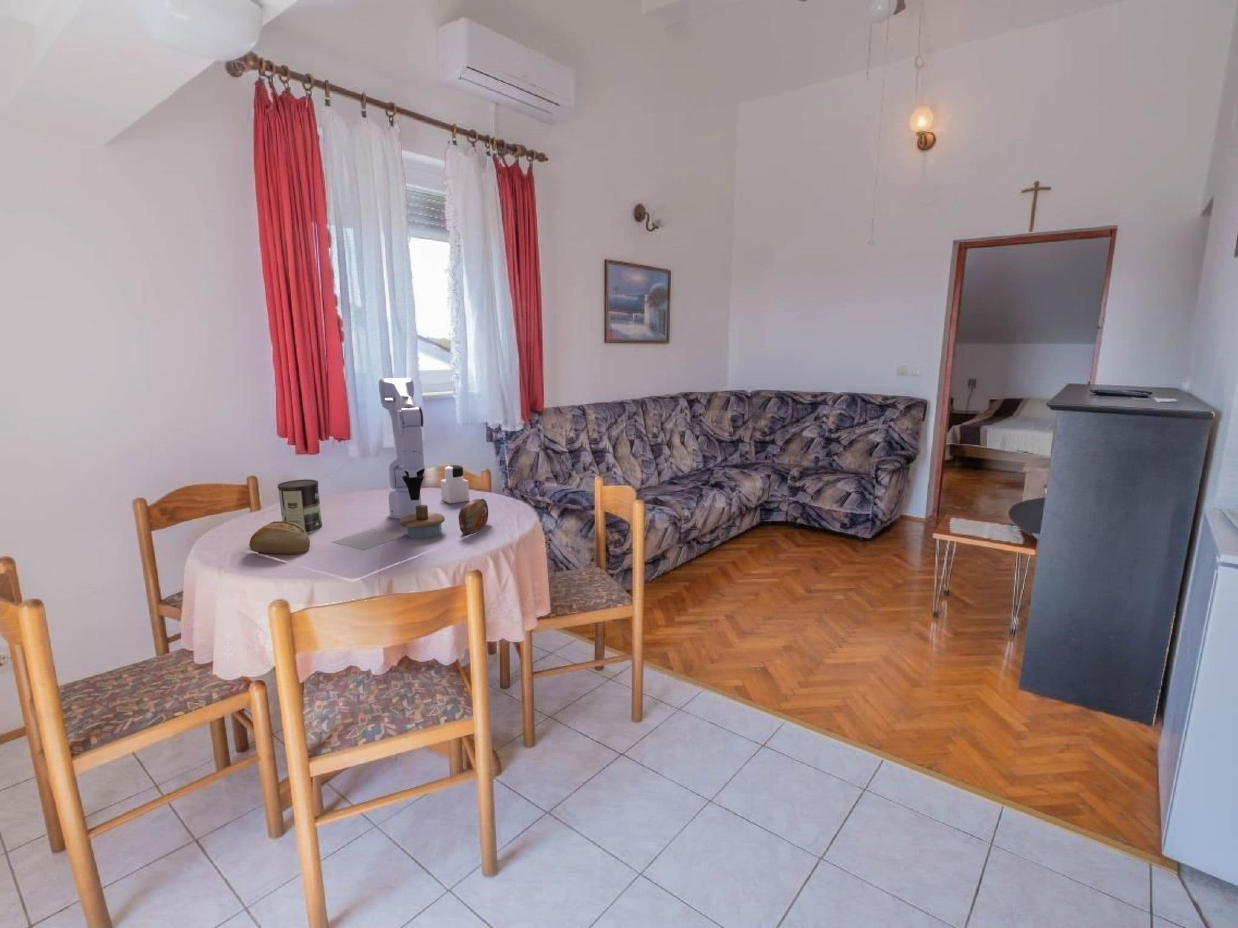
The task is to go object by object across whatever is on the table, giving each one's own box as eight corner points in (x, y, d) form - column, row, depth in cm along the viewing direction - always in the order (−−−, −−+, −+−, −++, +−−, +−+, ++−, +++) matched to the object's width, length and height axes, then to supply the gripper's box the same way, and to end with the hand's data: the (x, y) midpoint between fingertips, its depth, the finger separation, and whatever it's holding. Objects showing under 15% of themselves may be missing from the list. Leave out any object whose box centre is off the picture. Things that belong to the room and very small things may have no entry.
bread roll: (263, 546, 164) (260, 517, 162) (319, 546, 164) (316, 517, 162) (241, 558, 154) (237, 528, 153) (300, 559, 154) (297, 528, 153)
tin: (468, 538, 170) (466, 509, 169) (457, 537, 171) (456, 508, 169) (489, 522, 185) (488, 495, 183) (480, 522, 185) (478, 495, 184)
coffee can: (320, 523, 184) (316, 477, 181) (324, 532, 175) (319, 484, 172) (281, 528, 178) (276, 481, 176) (283, 538, 170) (278, 489, 167)
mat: (331, 543, 165) (331, 541, 165) (371, 530, 177) (371, 529, 176) (364, 551, 159) (363, 549, 159) (403, 537, 170) (403, 536, 170)
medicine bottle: (460, 496, 215) (459, 463, 213) (469, 500, 210) (468, 466, 207) (441, 499, 211) (439, 465, 208) (449, 504, 205) (447, 469, 203)
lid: (390, 523, 170) (389, 508, 169) (422, 513, 180) (421, 498, 179) (422, 530, 164) (421, 514, 163) (453, 518, 174) (452, 504, 174)
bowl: (400, 536, 171) (399, 523, 170) (425, 528, 179) (424, 515, 178) (424, 541, 167) (423, 527, 166) (448, 533, 175) (447, 519, 174)
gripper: (399, 446, 179) (402, 491, 182) (395, 455, 165) (399, 503, 168) (424, 445, 181) (427, 489, 184) (423, 454, 167) (426, 502, 170)
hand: (415, 496), depth 176 cm, fingers open, 7 cm apart
